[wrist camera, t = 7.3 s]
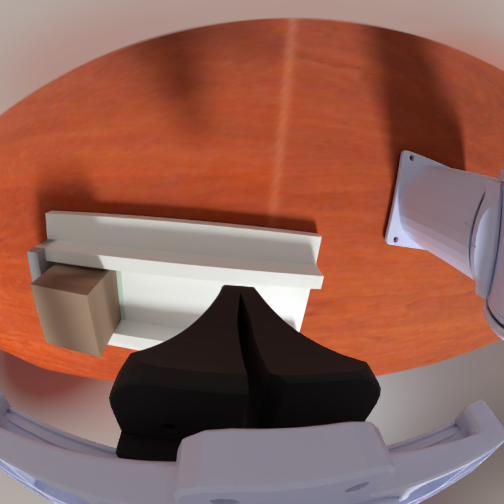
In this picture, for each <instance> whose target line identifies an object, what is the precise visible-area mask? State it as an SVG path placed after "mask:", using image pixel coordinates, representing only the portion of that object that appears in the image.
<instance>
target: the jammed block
mask: <svg viewBox="0 0 504 504" xmlns="http://www.w3.org/2000/svg"><path fill="white" fill-rule="evenodd" d="M30 285H31V289H32V294H33V298H34V302H35V306H36V309H37V313H38V317H39V320H40V323H41V327H42V330H43V333H44V336H45V339H46V342H47V343H50V344H53V345H56V346H59V347H63V348H66V349H70V350H74V351H77V352H81V353H85V354H89V355H93V356H97V357H101V355H102V353H103V351H104V350H105V348H106V346H107V344H108V342H109V340H110V338H111V337H112V335H113V333H114V331H115V329H116V328H117V326H118V324H119V322H120V320H121V312H120V304H119V296H118V286H117V275H116V270H109V269H101V268H94V267H86V266H79V265H72V264H65V263H59V262H57V263H56V264H55V265H53V266H52V267H51V268H50V269H48V270H47V271H46V272H44V273H43V274H42V275H41V276H39V277H38V278H37V279H36V280H35V281H33V282H32V283H31V284H30Z"/></svg>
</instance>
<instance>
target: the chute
mask: <svg viewBox="0 0 504 504" xmlns="http://www.w3.org/2000/svg"><path fill="white" fill-rule="evenodd" d="M45 215H46V229H47V240H45V241H43V242H42V243H40V244H38V245H37V246H35V247H33V248H32V249H30V250H29V251H27V254H28V260H29V266H30V271H31V277H32V282H33V281H35V280H36V279H37V278H38V277H39V276H41V275H42V274H43V273H44V272H46V271H47V270H48V269H50V268H51V267H52V266H53V265H55V264H56V263H57V262H59V263H65V264H72V265H79V266H86V267H94V268H101V269H109V270H116V275H117V286H118V296H119V304H120V312H121V320H120V322H119V324H118V326H117V328H116V329H115V331H114V333H113V335H112V337H111V338H110V340H109V342H108V344H109V345H114V346H119V347H124V348H130V349H135V350H144V349H147V348H150V347H153V346H155V345H158V344H160V343H162V342H164V341H166V340H168V339H170V338H172V337H174V336H176V335H177V334H179V333H181V332H182V331H183V330H185V329H186V328H188V327H189V326H190V325H191V324H193V323H194V322H195V321H196V320H197V319H198V318H199V317H200V316H201V315H202V314H203V313H204V312H205V311H206V310H207V309H208V308H209V307H210V305H211V304H212V303H213V301H214V300H215V299H216V297H217V296H218V294H219V292H220V290H221V288H222V286H224V285H235V286H248V287H254V288H255V289H256V290H257V292H258V293H259V294H260V295H261V297H262V298H263V299H264V300H265V301H266V303H267V304H268V305H269V306H270V307H271V308H272V309H273V310H274V311H275V312H276V313H277V314H278V315H279V316H280V317H281V318H282V319H283V320H284V321H285V322H286V323H288V324H289V325H290V326H291V327H293V328H294V329H295V330H297V331H298V332H299V331H300V327H301V323H302V320H303V316H304V312H305V308H306V304H307V300H308V296H309V292H310V289H321V286H322V282H323V278H324V276H323V274H322V273H321V272H320V270H319V269H318V267H317V266H316V261H317V257H318V252H319V248H320V243H321V238H322V237H321V236H320V235H319V234H318V233H311V232H303V231H294V230H285V229H276V228H267V227H258V226H249V225H239V224H229V223H218V222H208V221H197V220H186V219H174V218H162V217H149V216H136V215H121V214H106V213H90V212H72V211H50V212H47V213H45Z"/></svg>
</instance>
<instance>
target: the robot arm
mask: <svg viewBox="0 0 504 504" xmlns="http://www.w3.org/2000/svg"><path fill="white" fill-rule="evenodd" d="M410 156H411V157H412V159H411V160H410ZM395 237H396V240H395V241H394V238H395ZM385 242H386V243H388V244H390V245H397V246H404V247H411V248H418V249H424V250H428V251H429V252H431V253H433V254H434V255H436V256H437V257H439V258H441V259H442V260H444V261H446V262H447V263H449V264H450V265H452V266H453V267H455V268H456V269H458V270H460V271H461V272H463V273H464V274H466V275H467V276H469V277H470V278H472V279H473V280H474V281H475V282H476V288H475V293H476V294H478V295H479V296H480V297H482V298H483V299H484V300H485V303H484V315H485V318H486V320H487V322H488V324H489V326H490V327H491V328H492V330H493V331H494V332H495V333H496V334H497V335H498V336H499V337H500V338H501V339H503V340H504V168H502V169H501V170H500V178H496V177H492V176H488V175H483V174H479V173H474V172H469V171H464V170H459V169H453V168H450V167H448V166H445V165H443V164H441V163H438V162H436V161H434V160H431V159H429V158H426V157H424V156H421V155H419V154H416V153H413V152H411V151H407V150H404V151H402V152H401V156H400V163H399V169H398V175H397V181H396V187H395V192H394V198H393V203H392V208H391V212H390V217H389V221H388V226H387V230H386V234H385ZM380 390H381V388H380V386H379V383H378V381H377V379H376V377H375V376H374V374H373V372H372V370H371V369H370V367H369V365H368V364H367V362H364V361H360V360H357V359H354V358H351V357H348V356H344V355H342V354H339V353H337V352H335V351H332V350H330V349H328V348H326V347H323V346H321V345H319V344H318V343H316V342H314V341H312V340H311V339H309V338H307V337H306V336H304V335H302V334H301V333H300V332H298V331H297V330H295V329H294V328H293V327H291V326H290V325H289V324H288V323H286V322H285V321H284V320H283V319H282V318H281V317H280V316H279V315H278V314H277V313H276V312H275V311H274V310H273V309H272V308H271V307H270V306H269V305H268V304H267V303H266V301H265V300H264V299H263V298H262V297H261V295H260V294H259V293H258V292H257V290H256V289H255V288H254V287H248V286H235V285H224V286H222V288H221V290H220V292H219V294H218V296H217V297H216V299H215V300H214V301H213V303H212V304H211V305H210V307H209V308H208V309H207V310H206V311H205V312H204V313H203V314H202V315H201V316H200V317H199V318H198V319H197V320H196V321H195V322H194V323H193V324H191V325H190V326H189V327H188V328H186V329H185V330H183V331H182V332H181V333H179V334H177V335H176V336H174V337H172V338H170V339H168V340H166V341H164V342H162V343H160V344H158V345H155V346H153V347H150V348H147V349H144V350H140V351H137V352H134V353H131V354H130V355H129V357H128V358H127V360H126V362H125V363H124V364H123V366H122V368H121V369H120V371H119V373H118V375H117V377H116V380H115V382H114V385H113V387H112V390H111V393H110V397H109V399H110V405H111V408H112V410H113V413H114V415H115V417H116V420H117V422H118V424H119V426H120V429H121V431H122V432H121V435H120V439H119V442H118V445H117V448H113V447H109V446H106V445H103V444H99V443H96V442H92V441H90V440H87V439H83V438H81V437H78V436H75V435H73V434H70V433H67V432H65V431H62V430H60V429H57V428H55V427H53V426H50V425H48V424H46V423H43V422H41V421H39V420H37V419H35V418H33V417H31V416H29V415H27V414H25V413H23V412H21V411H19V410H17V409H15V408H14V407H12V406H10V405H9V403H8V401H7V399H6V398H5V396H4V395H3V394H2V392H1V391H0V470H2V471H3V472H5V473H6V474H7V475H9V476H10V477H12V478H13V479H15V480H16V481H18V482H19V483H21V484H22V485H24V486H25V487H27V488H29V489H30V490H32V491H34V492H35V493H37V494H39V495H41V496H42V497H44V498H46V499H48V500H50V501H51V502H53V503H55V504H417V503H419V502H421V501H423V500H425V499H427V498H429V497H431V496H432V495H434V494H436V493H438V492H439V491H441V490H443V489H445V488H446V487H448V486H449V485H451V484H453V483H454V482H456V481H457V480H459V479H461V478H462V477H464V476H465V475H467V474H468V473H470V472H471V471H472V470H474V469H475V468H476V467H477V466H478V465H480V464H481V463H482V462H483V461H484V460H485V459H486V458H487V457H489V456H490V455H491V454H492V453H493V452H494V451H495V450H496V449H497V448H498V447H499V446H500V445H501V444H502V443H503V442H504V428H503V427H502V425H501V424H500V422H499V421H498V419H497V418H496V417H495V415H494V414H493V413H492V411H491V410H490V408H489V407H488V406H487V404H486V403H485V402H484V401H483V399H481V400H479V401H477V402H475V403H473V404H471V405H469V406H467V407H466V408H464V409H463V410H462V411H461V412H460V413H459V415H458V416H457V417H456V419H455V421H453V422H451V423H448V424H446V425H444V426H441V427H439V428H437V429H434V430H432V431H429V432H427V433H424V434H421V435H419V436H416V437H413V438H410V439H407V440H404V441H401V442H398V443H395V444H391V445H388V446H386V444H385V442H384V440H383V437H382V435H381V433H380V431H379V429H378V428H377V427H376V426H375V425H374V424H373V423H371V422H364V421H365V420H366V418H367V417H368V416H369V414H370V413H371V411H372V409H373V408H374V406H375V405H376V403H377V401H378V399H379V396H380Z"/></svg>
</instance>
